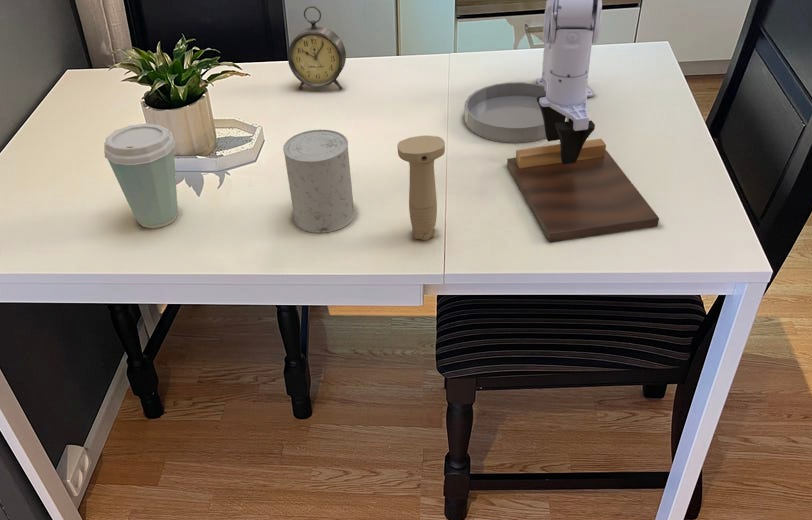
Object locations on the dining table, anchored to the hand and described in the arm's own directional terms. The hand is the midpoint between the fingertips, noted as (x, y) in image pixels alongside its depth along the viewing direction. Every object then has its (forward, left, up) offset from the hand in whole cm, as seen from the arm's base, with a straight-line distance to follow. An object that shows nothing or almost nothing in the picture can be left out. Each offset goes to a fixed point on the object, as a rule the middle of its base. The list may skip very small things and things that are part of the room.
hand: (560, 150), depth 126 cm
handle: (+14, -25, -3) cm, 29 cm away
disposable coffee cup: (-1, -65, -3) cm, 65 cm away
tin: (-18, -2, -3) cm, 19 cm away
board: (+9, 0, -3) cm, 9 cm away
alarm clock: (-42, -35, -3) cm, 55 cm away
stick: (0, 0, -2) cm, 2 cm away
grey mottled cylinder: (+5, -39, -3) cm, 39 cm away
